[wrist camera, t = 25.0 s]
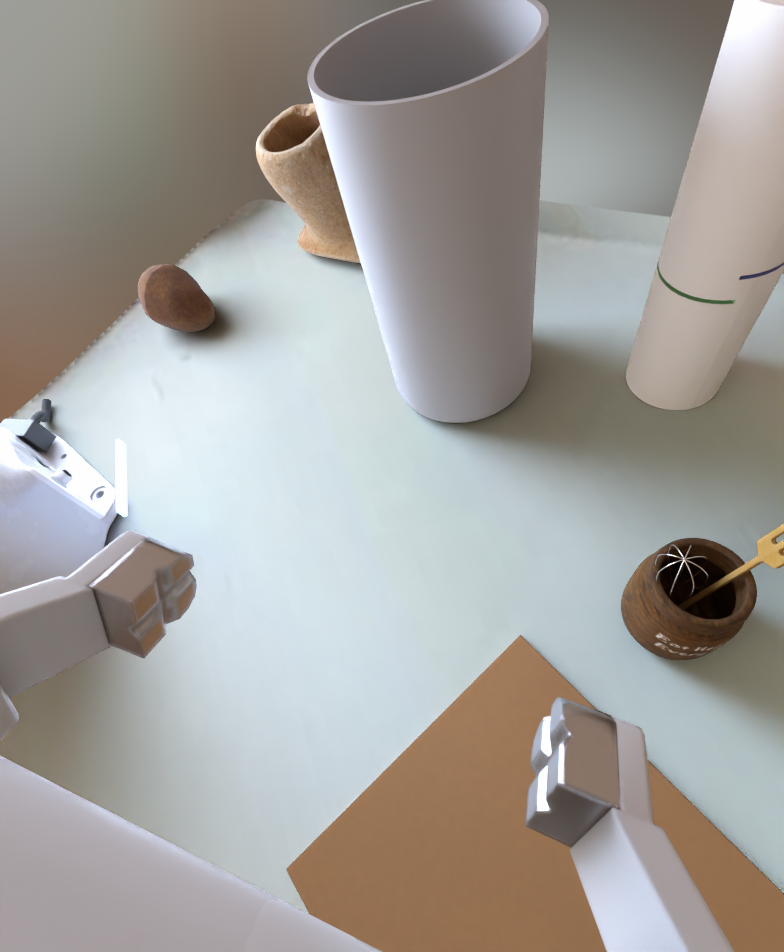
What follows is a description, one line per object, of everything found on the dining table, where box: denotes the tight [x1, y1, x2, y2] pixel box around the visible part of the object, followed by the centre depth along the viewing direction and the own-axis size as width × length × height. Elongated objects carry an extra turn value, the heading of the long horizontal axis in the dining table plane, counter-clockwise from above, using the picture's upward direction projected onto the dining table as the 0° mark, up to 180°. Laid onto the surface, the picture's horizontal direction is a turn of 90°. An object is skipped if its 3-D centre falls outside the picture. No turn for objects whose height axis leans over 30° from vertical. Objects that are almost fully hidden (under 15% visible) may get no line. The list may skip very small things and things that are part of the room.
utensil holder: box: [621, 524, 784, 660], centre depth 27 cm, size 6×6×12 cm
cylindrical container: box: [626, 0, 784, 410], centre depth 31 cm, size 7×7×25 cm
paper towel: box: [286, 635, 784, 952], centre depth 26 cm, size 20×20×1 cm
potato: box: [138, 264, 215, 332], centre depth 56 cm, size 7×10×7 cm
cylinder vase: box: [308, 0, 549, 423], centre depth 36 cm, size 12×12×25 cm
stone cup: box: [256, 102, 361, 263], centre depth 54 cm, size 15×12×15 cm
